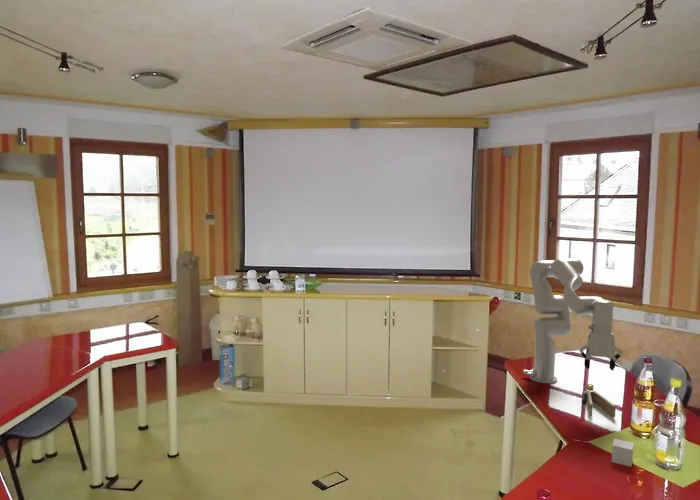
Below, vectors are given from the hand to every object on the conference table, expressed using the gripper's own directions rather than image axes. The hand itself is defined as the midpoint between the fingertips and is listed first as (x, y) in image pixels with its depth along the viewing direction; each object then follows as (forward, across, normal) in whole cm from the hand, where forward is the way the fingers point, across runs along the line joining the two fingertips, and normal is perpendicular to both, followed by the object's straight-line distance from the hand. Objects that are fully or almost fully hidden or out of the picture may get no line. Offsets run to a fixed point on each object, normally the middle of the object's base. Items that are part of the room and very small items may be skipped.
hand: (599, 368), depth 216 cm
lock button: (+13, 0, +10) cm, 17 cm away
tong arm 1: (+18, -3, 0) cm, 18 cm away
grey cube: (+19, -5, -44) cm, 48 cm away
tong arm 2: (+18, +3, 0) cm, 18 cm away
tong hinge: (+18, 0, +10) cm, 21 cm away
